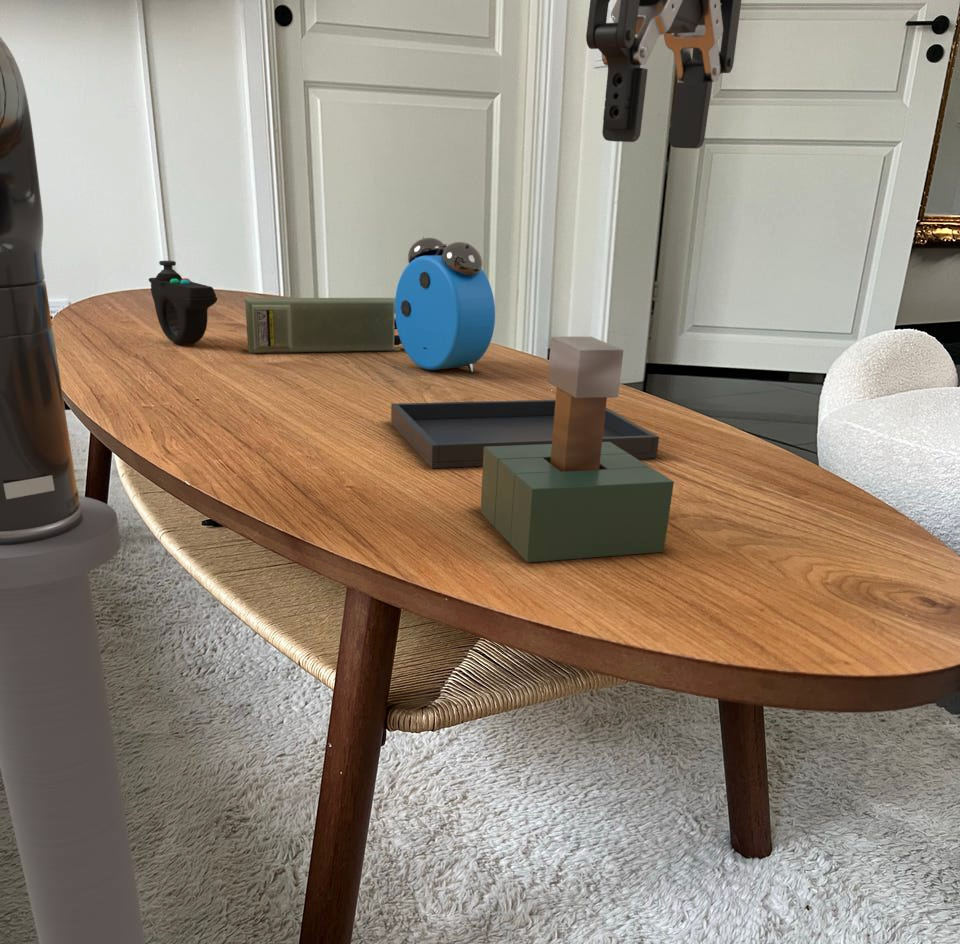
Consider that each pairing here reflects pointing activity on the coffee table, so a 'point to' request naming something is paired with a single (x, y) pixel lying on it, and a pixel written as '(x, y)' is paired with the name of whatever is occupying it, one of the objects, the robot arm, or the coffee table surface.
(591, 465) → the brown and grey block
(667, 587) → the coffee table surface
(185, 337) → the controller
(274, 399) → the coffee table surface
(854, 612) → the coffee table surface
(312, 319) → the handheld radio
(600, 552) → the holder
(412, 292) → the alarm clock
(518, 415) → the tray
